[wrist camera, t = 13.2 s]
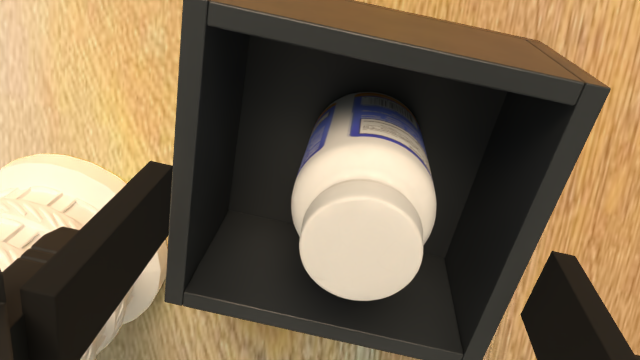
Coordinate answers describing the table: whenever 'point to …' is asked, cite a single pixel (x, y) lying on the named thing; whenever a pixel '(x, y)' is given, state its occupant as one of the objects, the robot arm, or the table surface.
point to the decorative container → (68, 222)
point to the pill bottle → (364, 198)
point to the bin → (440, 143)
